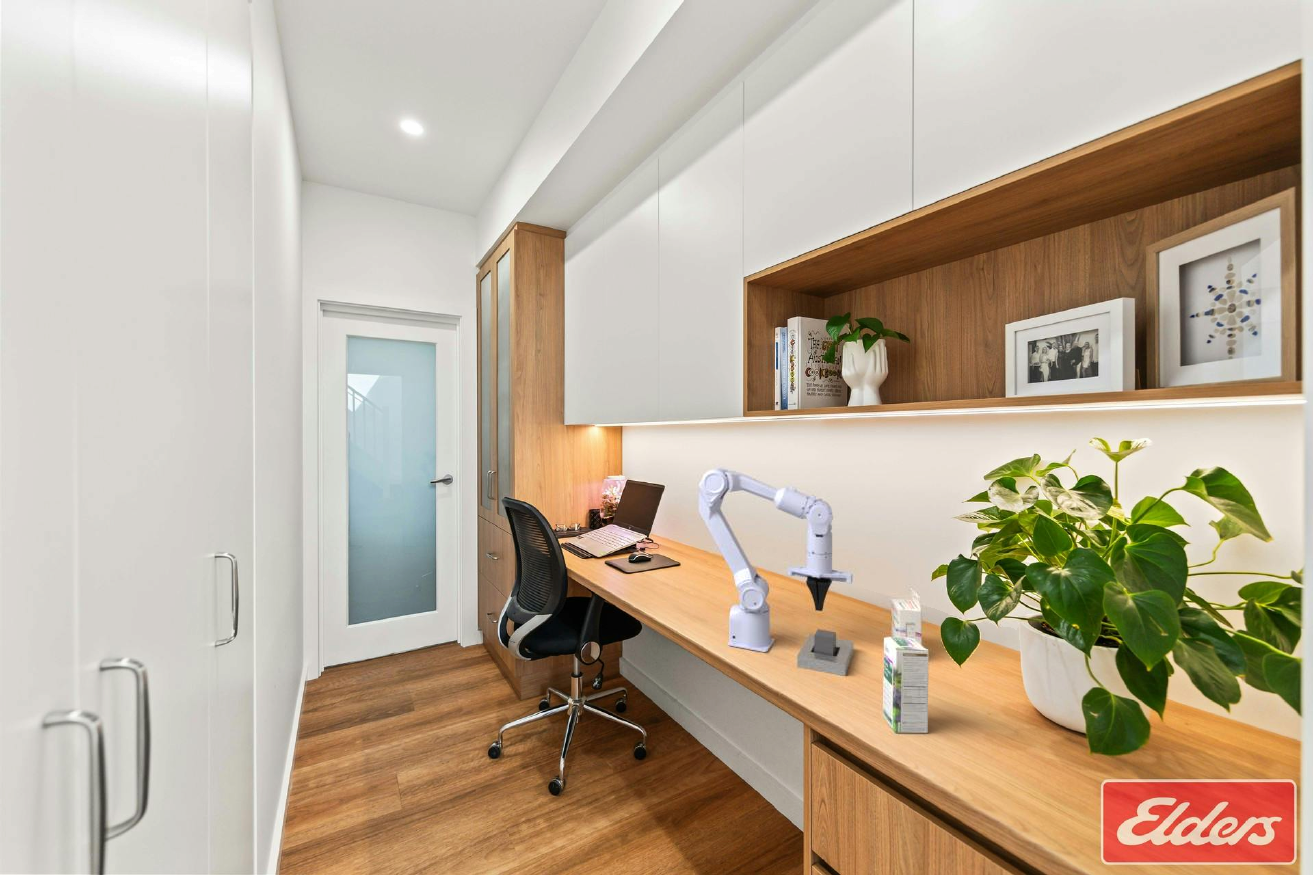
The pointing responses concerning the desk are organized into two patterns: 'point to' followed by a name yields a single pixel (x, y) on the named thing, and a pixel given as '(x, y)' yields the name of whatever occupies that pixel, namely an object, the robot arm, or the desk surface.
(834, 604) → the desk surface
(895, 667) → the syrup box
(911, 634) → the ink cartridge box
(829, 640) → the plug
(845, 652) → the socket plate
